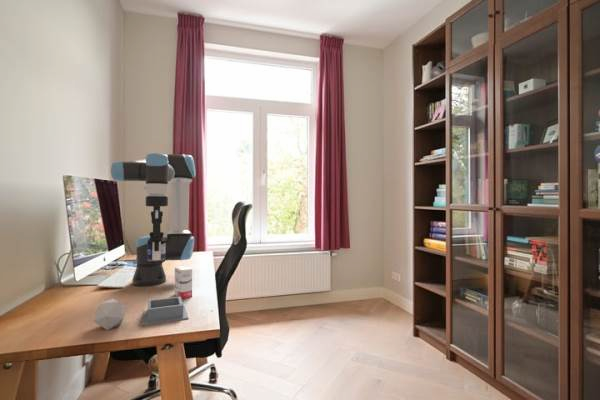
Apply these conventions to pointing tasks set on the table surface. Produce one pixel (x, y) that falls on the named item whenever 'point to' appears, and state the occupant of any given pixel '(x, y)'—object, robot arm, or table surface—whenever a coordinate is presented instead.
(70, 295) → the table surface
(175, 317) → the well
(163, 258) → the pill bottle
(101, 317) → the die
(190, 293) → the ink box
